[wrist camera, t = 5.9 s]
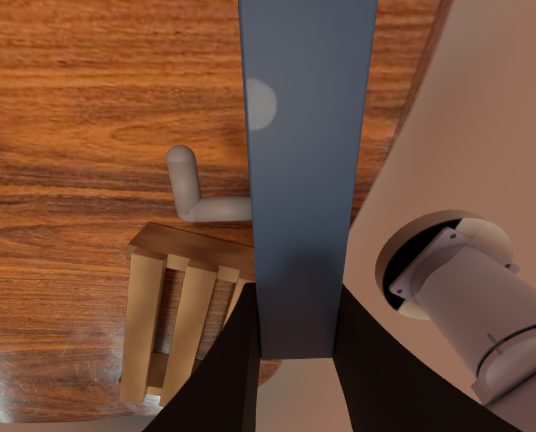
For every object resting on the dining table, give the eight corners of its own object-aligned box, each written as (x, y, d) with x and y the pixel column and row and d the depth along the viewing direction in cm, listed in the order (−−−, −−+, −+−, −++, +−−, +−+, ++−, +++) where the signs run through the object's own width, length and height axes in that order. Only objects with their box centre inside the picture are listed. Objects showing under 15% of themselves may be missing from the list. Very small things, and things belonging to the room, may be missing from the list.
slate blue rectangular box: (336, -8, 8) (391, -89, 4) (315, 292, 13) (333, 359, 9) (168, -2, 8) (96, -78, 4) (215, 295, 13) (198, 363, 9)
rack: (274, 252, 20) (276, 286, 16) (230, 372, 26) (224, 416, 23) (148, 221, 19) (120, 251, 15) (134, 356, 25) (112, 399, 21)
